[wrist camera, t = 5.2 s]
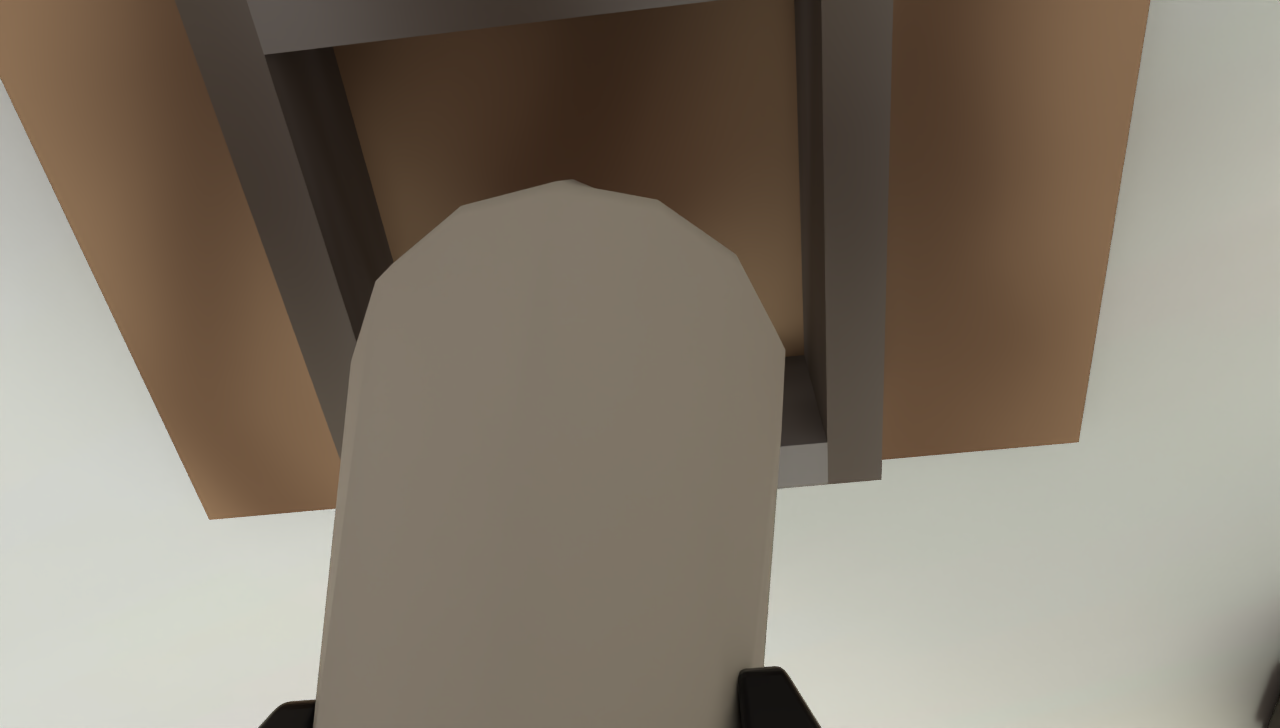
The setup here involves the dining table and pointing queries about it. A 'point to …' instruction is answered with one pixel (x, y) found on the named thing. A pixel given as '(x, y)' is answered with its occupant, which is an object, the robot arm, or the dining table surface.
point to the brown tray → (601, 158)
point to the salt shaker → (554, 475)
